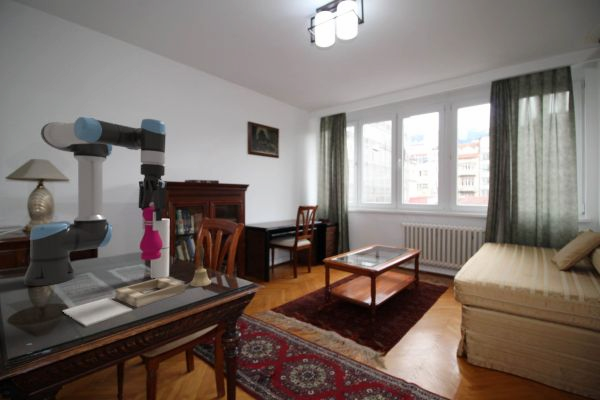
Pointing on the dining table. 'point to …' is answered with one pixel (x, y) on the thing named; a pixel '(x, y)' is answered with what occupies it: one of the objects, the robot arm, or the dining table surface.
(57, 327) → the dining table surface
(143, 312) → the dining table surface
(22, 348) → the dining table surface
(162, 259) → the cylindrical container
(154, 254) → the pepper mill
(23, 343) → the dining table surface
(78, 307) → the plastic pad
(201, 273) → the hand bell
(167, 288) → the maple frame
